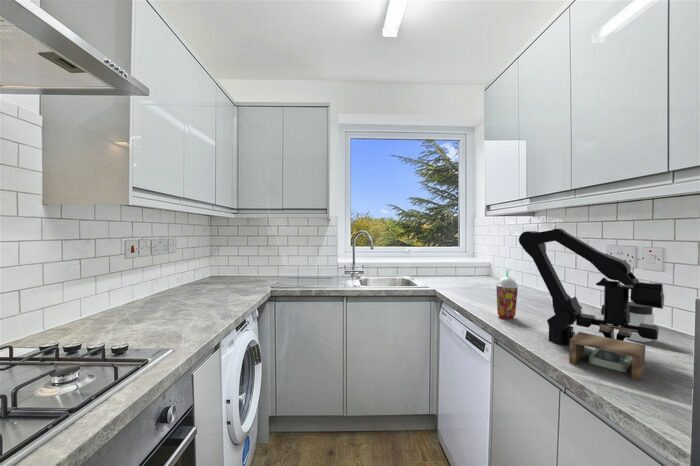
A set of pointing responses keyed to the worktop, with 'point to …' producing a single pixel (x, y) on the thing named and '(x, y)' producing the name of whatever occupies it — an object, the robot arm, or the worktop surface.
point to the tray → (619, 366)
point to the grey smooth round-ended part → (609, 356)
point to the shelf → (610, 345)
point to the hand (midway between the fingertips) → (614, 354)
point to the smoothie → (506, 297)
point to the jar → (640, 319)
